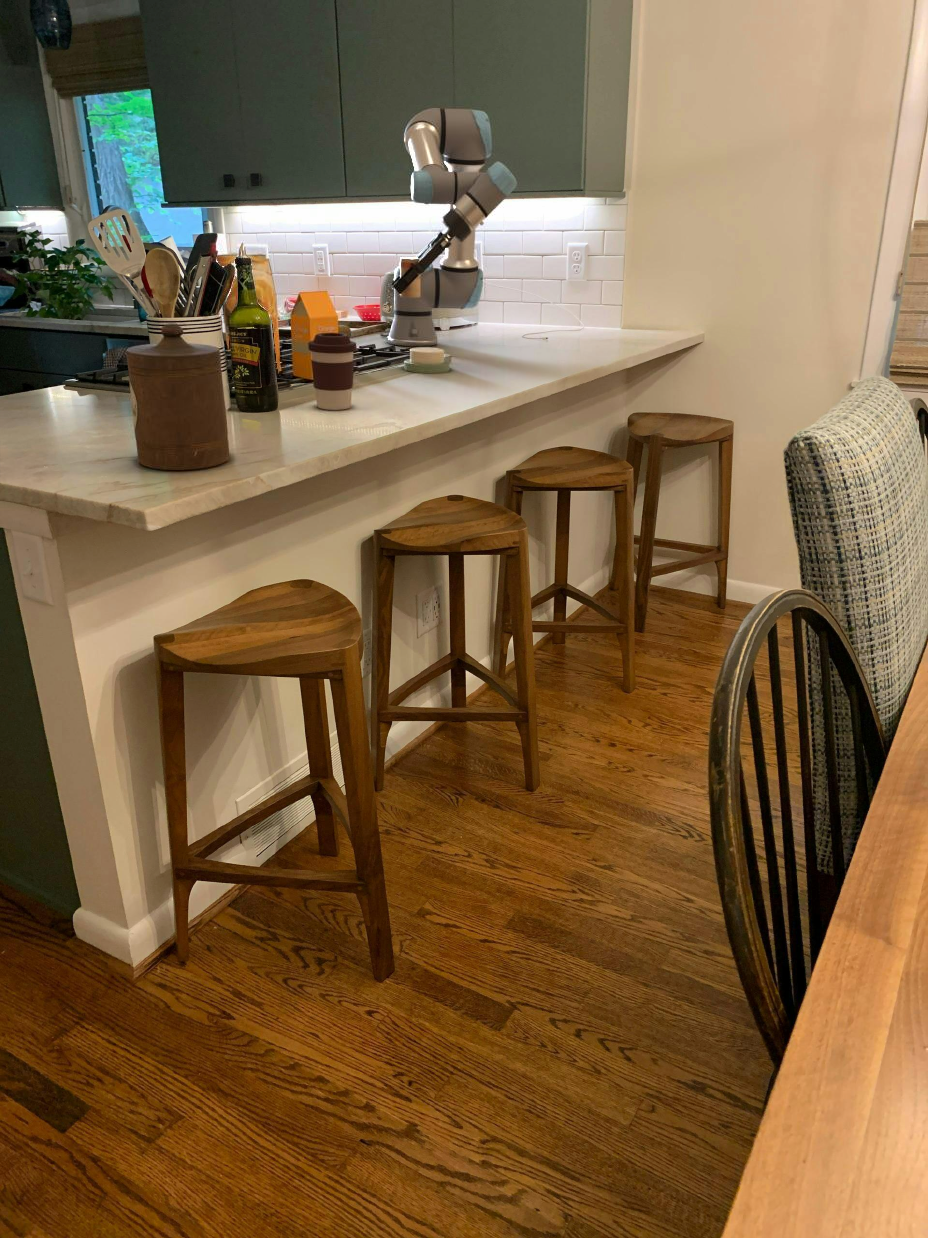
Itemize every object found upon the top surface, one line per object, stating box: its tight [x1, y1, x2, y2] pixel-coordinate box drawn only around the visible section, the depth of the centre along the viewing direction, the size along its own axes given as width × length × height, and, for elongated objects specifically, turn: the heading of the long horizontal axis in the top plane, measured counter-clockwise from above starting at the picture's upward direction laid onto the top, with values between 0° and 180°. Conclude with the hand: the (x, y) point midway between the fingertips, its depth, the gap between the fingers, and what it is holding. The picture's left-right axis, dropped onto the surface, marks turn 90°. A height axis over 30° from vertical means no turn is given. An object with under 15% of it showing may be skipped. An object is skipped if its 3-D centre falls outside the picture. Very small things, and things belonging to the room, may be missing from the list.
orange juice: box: [290, 290, 339, 381], centre depth 229 cm, size 8×9×20 cm
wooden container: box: [126, 322, 230, 471], centre depth 153 cm, size 15×15×22 cm
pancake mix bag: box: [217, 253, 282, 374], centre depth 226 cm, size 7×19×28 cm, turn 141°
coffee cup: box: [308, 333, 357, 411], centre depth 197 cm, size 10×10×15 cm
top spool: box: [399, 257, 421, 298], centre depth 231 cm, size 5×5×9 cm
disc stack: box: [403, 346, 451, 374], centre depth 246 cm, size 12×12×5 cm
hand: (395, 288), depth 232 cm, fingers closed on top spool, 5 cm apart
